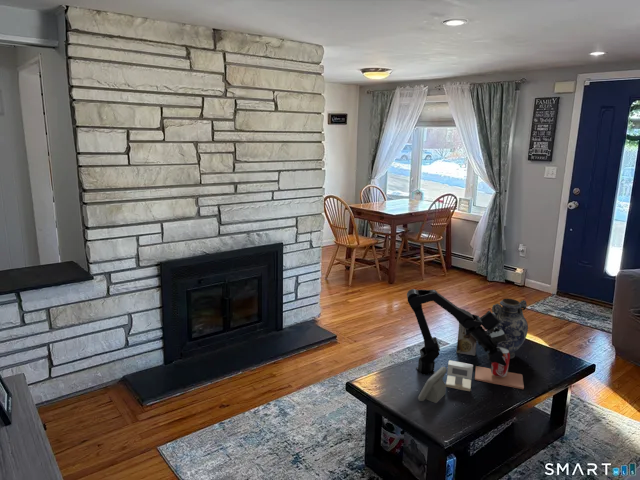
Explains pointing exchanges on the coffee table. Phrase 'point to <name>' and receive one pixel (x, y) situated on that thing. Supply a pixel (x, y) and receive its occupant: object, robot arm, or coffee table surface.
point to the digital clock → (434, 387)
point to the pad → (499, 378)
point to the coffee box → (465, 342)
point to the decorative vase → (511, 324)
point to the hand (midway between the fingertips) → (503, 361)
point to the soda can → (499, 369)
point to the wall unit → (459, 375)
